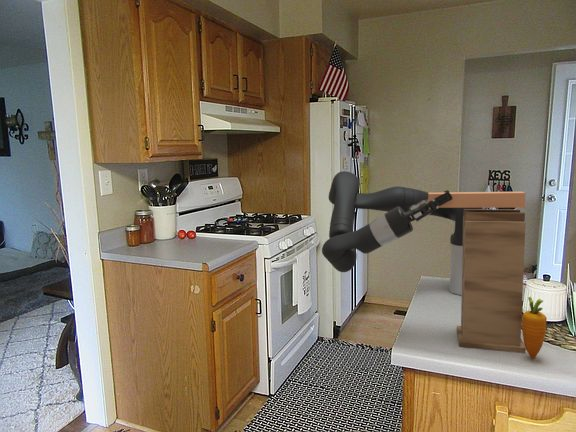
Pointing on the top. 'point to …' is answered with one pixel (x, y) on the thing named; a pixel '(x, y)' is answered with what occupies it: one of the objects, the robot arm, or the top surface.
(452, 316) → the top surface
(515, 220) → the stand
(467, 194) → the bar
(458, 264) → the robot arm
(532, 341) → the carrot
